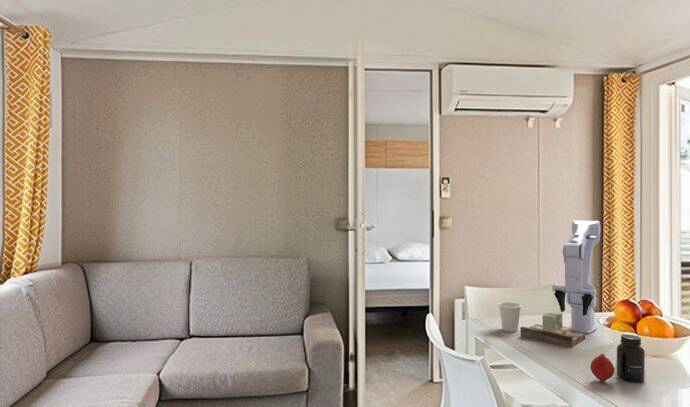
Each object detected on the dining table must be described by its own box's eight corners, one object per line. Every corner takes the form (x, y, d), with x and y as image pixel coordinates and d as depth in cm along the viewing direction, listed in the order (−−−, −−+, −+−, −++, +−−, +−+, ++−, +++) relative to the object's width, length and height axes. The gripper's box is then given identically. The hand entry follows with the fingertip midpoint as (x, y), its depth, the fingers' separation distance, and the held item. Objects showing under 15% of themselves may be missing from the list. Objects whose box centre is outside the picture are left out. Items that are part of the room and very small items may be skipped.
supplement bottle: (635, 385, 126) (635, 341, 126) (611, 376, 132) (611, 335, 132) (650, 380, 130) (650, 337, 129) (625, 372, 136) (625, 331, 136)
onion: (586, 378, 132) (586, 350, 132) (605, 377, 132) (605, 349, 132) (598, 386, 126) (598, 356, 126) (618, 385, 126) (618, 356, 126)
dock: (536, 329, 181) (536, 320, 181) (585, 338, 168) (585, 329, 168) (520, 336, 171) (520, 327, 171) (571, 347, 159) (571, 337, 159)
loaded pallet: (545, 327, 176) (545, 310, 176) (569, 331, 170) (569, 314, 170) (535, 332, 170) (535, 314, 170) (560, 337, 164) (560, 318, 163)
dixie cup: (498, 331, 178) (497, 305, 178) (499, 326, 186) (499, 301, 186) (521, 333, 175) (521, 307, 175) (521, 328, 183) (521, 303, 183)
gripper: (548, 275, 171) (549, 311, 171) (591, 279, 160) (591, 318, 160) (556, 272, 176) (556, 308, 176) (597, 277, 165) (598, 315, 165)
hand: (573, 313), depth 168 cm, fingers open, 7 cm apart
